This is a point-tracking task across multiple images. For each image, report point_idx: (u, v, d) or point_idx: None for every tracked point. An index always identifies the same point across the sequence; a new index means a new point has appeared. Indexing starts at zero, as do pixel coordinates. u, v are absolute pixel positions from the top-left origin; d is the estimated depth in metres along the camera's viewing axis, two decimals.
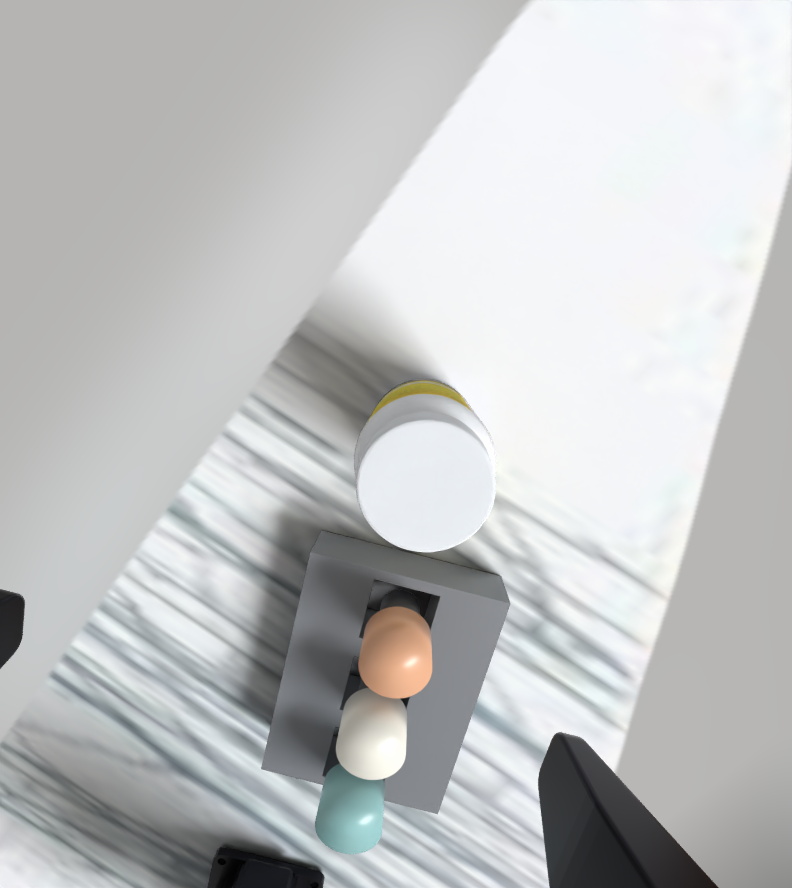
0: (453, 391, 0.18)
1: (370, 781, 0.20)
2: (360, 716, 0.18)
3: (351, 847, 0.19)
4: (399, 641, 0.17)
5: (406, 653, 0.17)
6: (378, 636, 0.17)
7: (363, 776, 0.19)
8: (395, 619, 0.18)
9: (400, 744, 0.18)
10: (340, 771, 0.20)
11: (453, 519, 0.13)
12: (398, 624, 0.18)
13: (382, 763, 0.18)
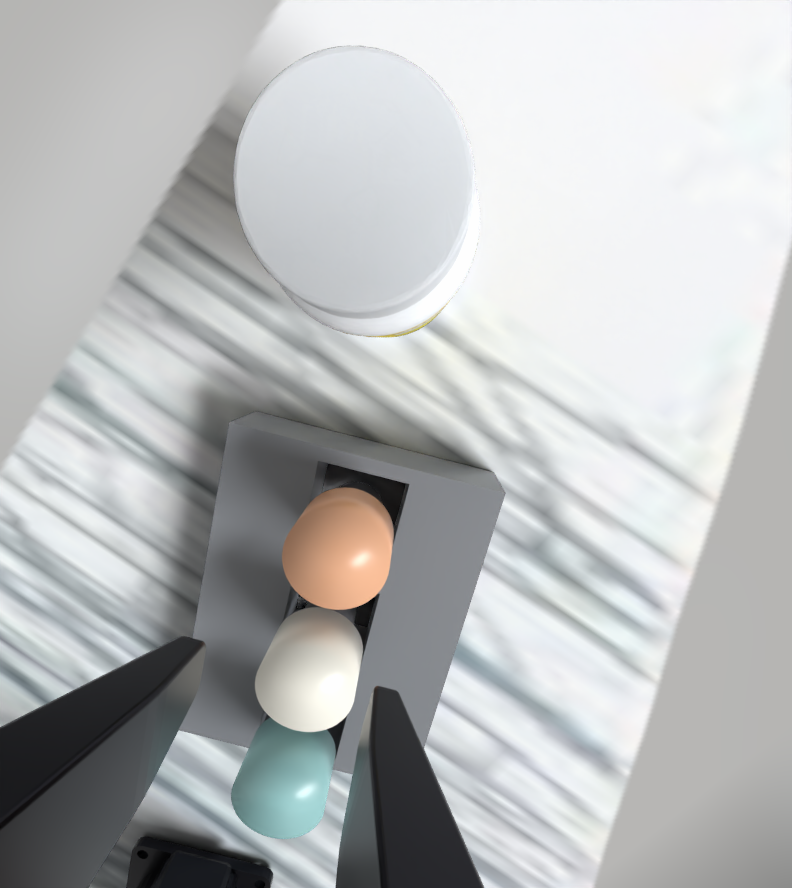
0: None
1: (312, 738, 0.14)
2: (290, 639, 0.13)
3: (283, 829, 0.14)
4: (341, 521, 0.12)
5: (351, 539, 0.12)
6: (309, 514, 0.12)
7: (297, 728, 0.13)
8: (338, 497, 0.12)
9: (346, 678, 0.13)
10: (272, 726, 0.15)
11: (401, 244, 0.08)
12: (341, 501, 0.12)
13: (322, 707, 0.13)
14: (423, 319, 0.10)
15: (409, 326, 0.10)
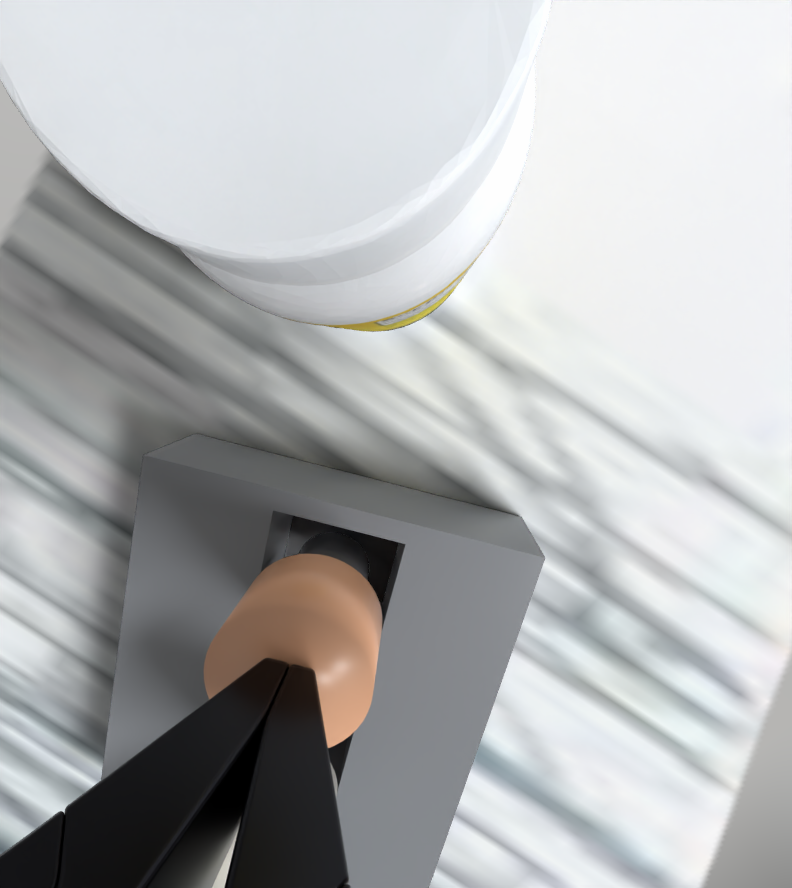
0: None
1: None
2: None
3: None
4: (294, 623, 0.07)
5: (311, 651, 0.07)
6: (245, 611, 0.07)
7: None
8: (296, 576, 0.08)
9: None
10: None
11: (374, 83, 0.03)
12: (299, 585, 0.08)
13: None
14: (427, 293, 0.05)
15: (401, 306, 0.06)
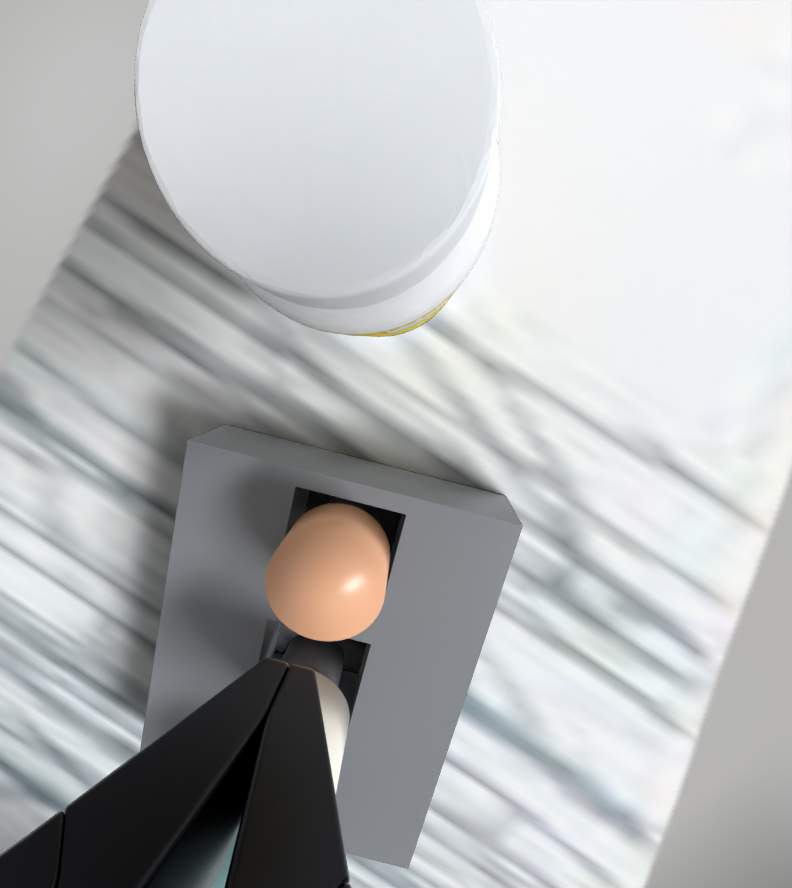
0: None
1: None
2: None
3: None
4: (330, 543, 0.10)
5: (342, 564, 0.10)
6: (295, 535, 0.10)
7: None
8: (328, 515, 0.11)
9: None
10: None
11: (389, 194, 0.05)
12: (331, 520, 0.11)
13: None
14: (422, 311, 0.07)
15: (404, 321, 0.07)
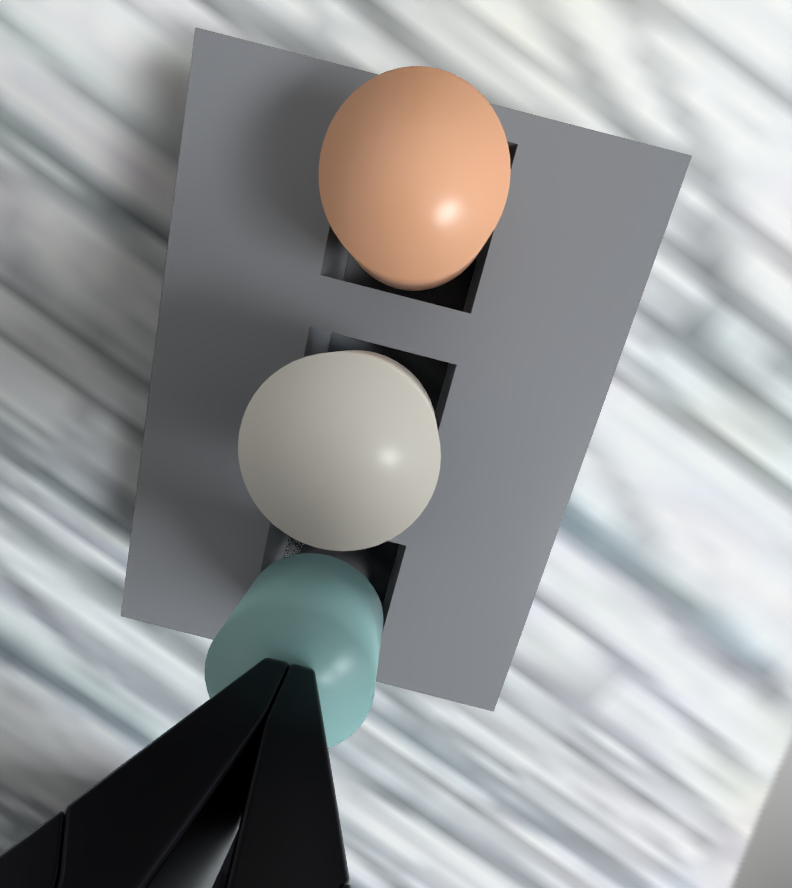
0: None
1: (347, 585, 0.08)
2: None
3: None
4: (425, 91, 0.06)
5: (443, 130, 0.07)
6: (369, 81, 0.07)
7: (321, 545, 0.07)
8: None
9: (425, 429, 0.06)
10: (277, 568, 0.09)
11: None
12: None
13: (372, 496, 0.06)
14: None
15: None
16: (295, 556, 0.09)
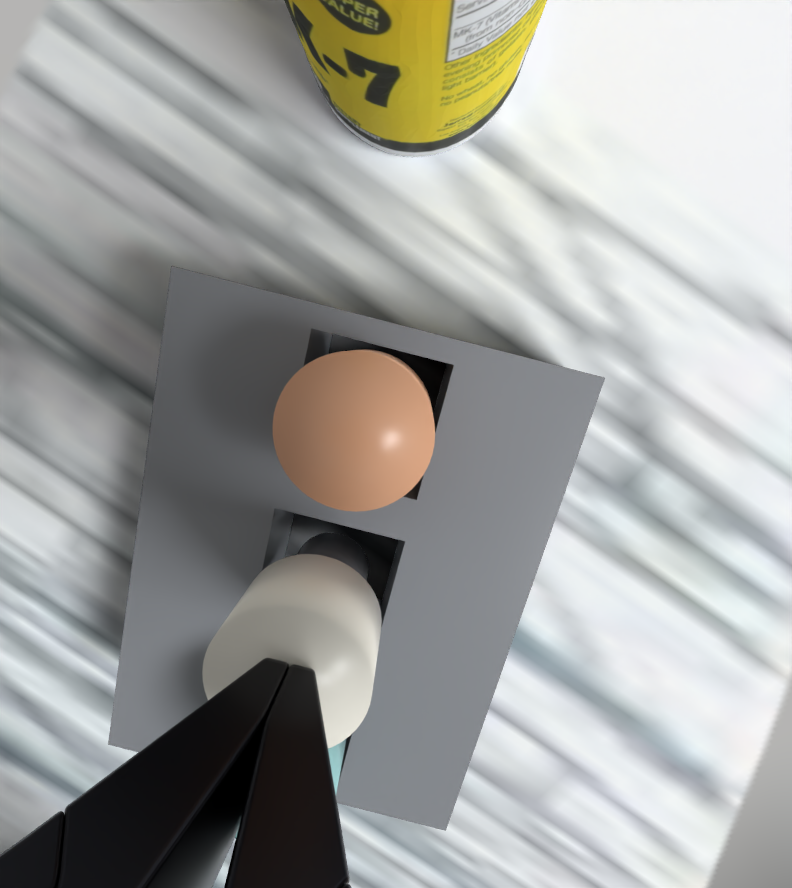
0: None
1: None
2: (262, 599, 0.08)
3: None
4: (361, 370, 0.08)
5: (377, 400, 0.08)
6: (314, 360, 0.08)
7: None
8: None
9: (358, 665, 0.07)
10: None
11: None
12: (361, 350, 0.08)
13: None
14: None
15: None
16: None
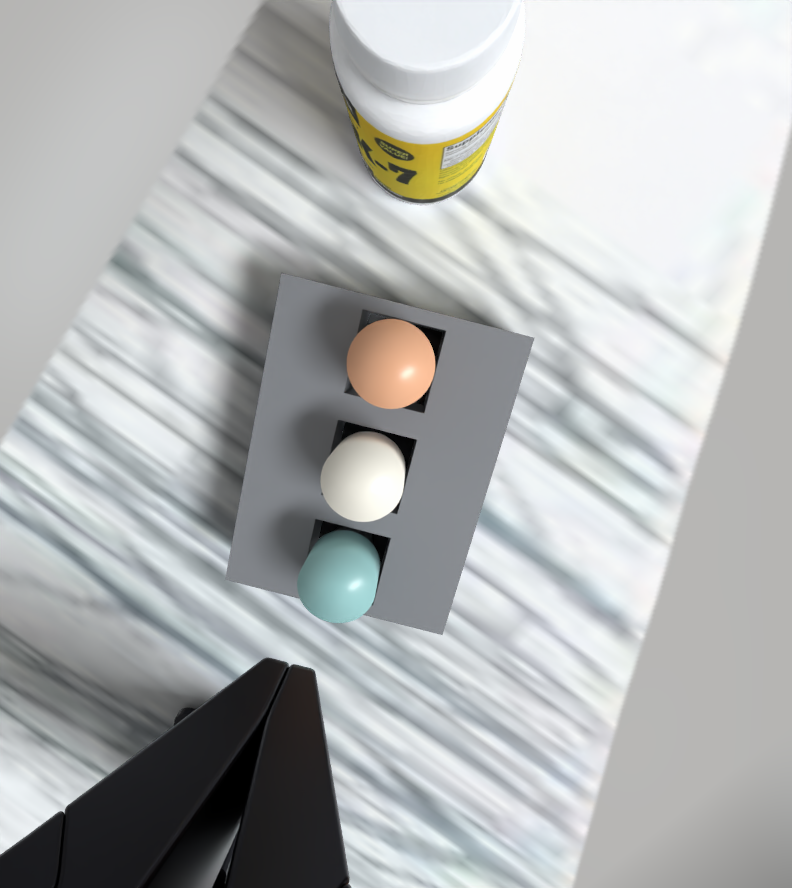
0: None
1: (362, 544, 0.17)
2: (349, 441, 0.15)
3: (340, 614, 0.16)
4: (396, 329, 0.14)
5: (404, 345, 0.14)
6: (370, 324, 0.14)
7: (354, 519, 0.16)
8: None
9: (397, 471, 0.15)
10: (327, 537, 0.17)
11: (468, 4, 0.09)
12: None
13: (376, 499, 0.15)
14: (473, 122, 0.11)
15: (460, 129, 0.11)
16: (335, 531, 0.18)
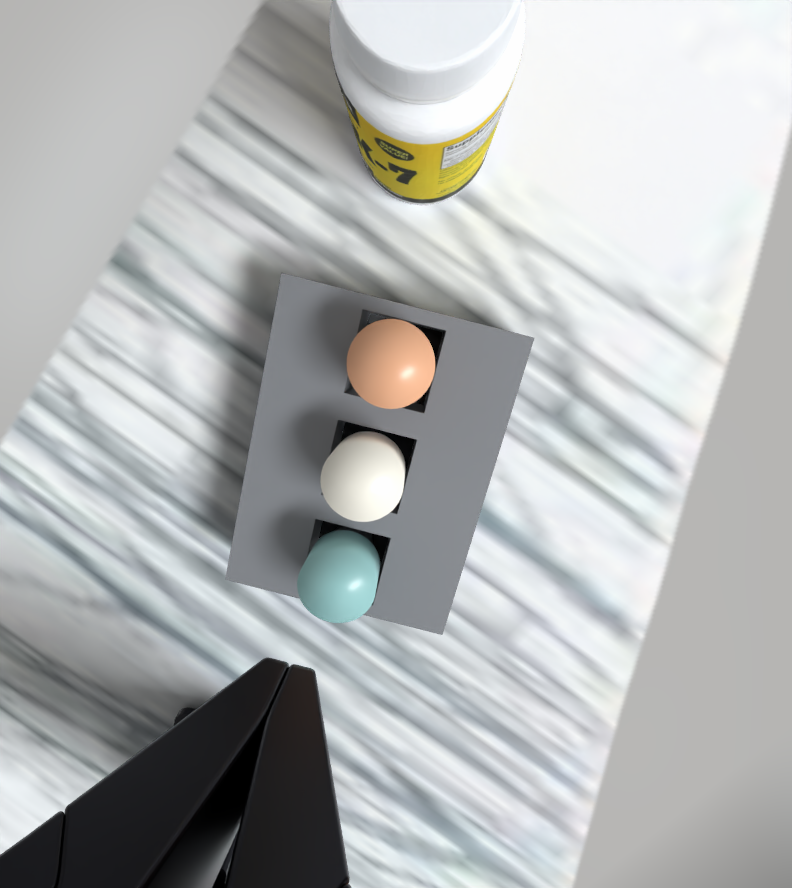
0: None
1: (362, 544, 0.17)
2: (349, 441, 0.15)
3: (340, 613, 0.16)
4: (396, 329, 0.14)
5: (404, 345, 0.14)
6: None
7: (354, 519, 0.16)
8: None
9: (397, 471, 0.15)
10: (327, 537, 0.17)
11: (468, 4, 0.09)
12: None
13: (376, 498, 0.15)
14: (473, 122, 0.11)
15: (461, 129, 0.11)
16: (335, 531, 0.18)
